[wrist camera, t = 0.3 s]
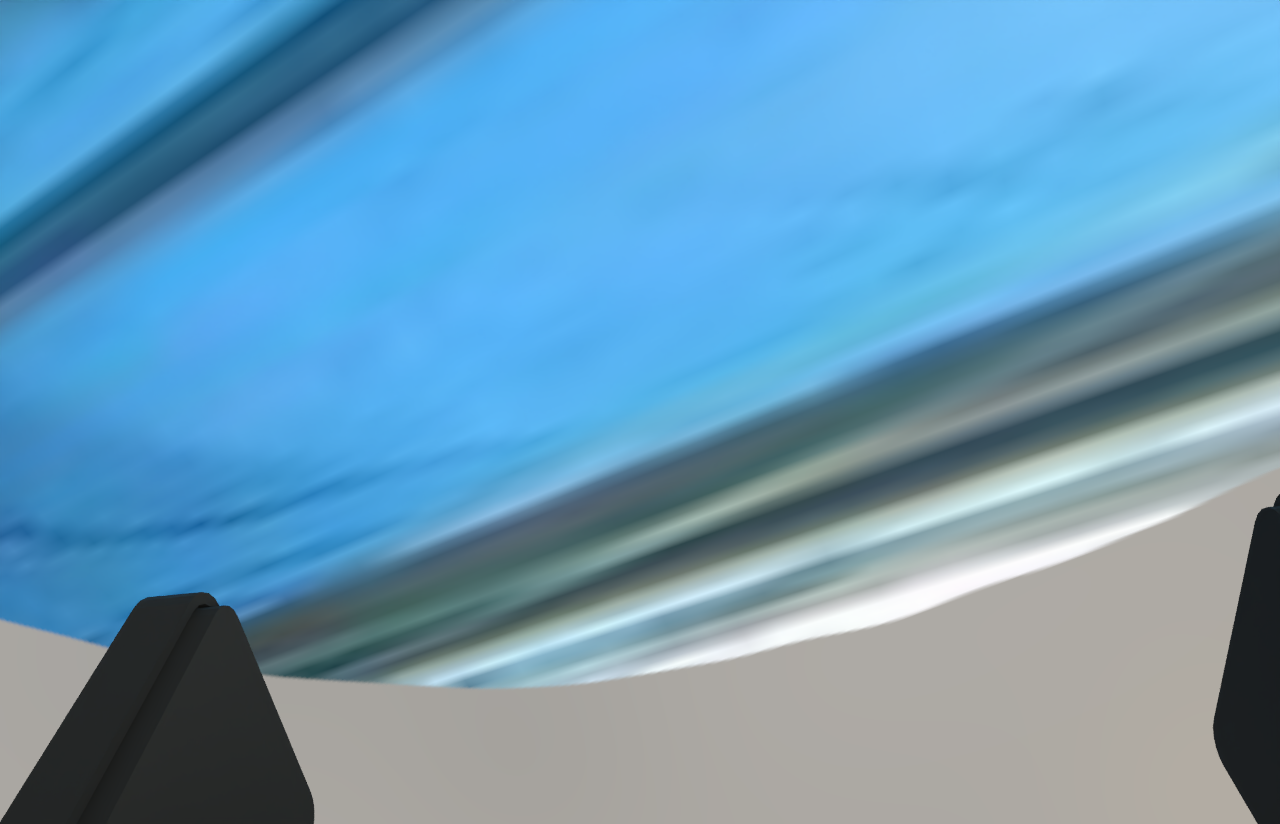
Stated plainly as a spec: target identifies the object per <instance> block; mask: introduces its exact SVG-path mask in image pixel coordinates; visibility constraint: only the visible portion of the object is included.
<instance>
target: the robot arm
mask: <svg viewBox="0 0 1280 824" xmlns="http://www.w3.org/2000/svg"><path fill="white" fill-rule="evenodd" d="M1213 731H1214V740H1215V744H1216V748H1217V751H1218V754H1219V757H1220V759H1221V761H1222V763H1223V765H1224V767H1225V769H1226V770H1227V772H1228V774H1229V776H1230V777H1231V779H1232V781H1233V782H1234V784H1235V786H1236V787H1237V789H1238V791H1239V793H1240V794H1241V796H1242V798H1243V800H1244V801H1245V803H1246V805H1247V806H1248V808H1249V810H1250V811H1251V813H1252V815H1253V816H1254V818H1255V820H1256V822H1257V823H1258V824H1280V494H1279V496H1278V497H1277V498H1276V501H1275V503H1274V506H1273V507H1267V508H1264V509H1262V510H1261V511H1260V512H1259V513H1258V515H1257V518H1256V521H1255V525H1254V530H1253V534H1252V539H1251V544H1250V549H1249V554H1248V558H1247V563H1246V568H1245V573H1244V577H1243V582H1242V587H1241V592H1240V597H1239V601H1238V606H1237V611H1236V616H1235V621H1234V625H1233V630H1232V635H1231V640H1230V645H1229V650H1228V654H1227V659H1226V664H1225V668H1224V673H1223V678H1222V683H1221V688H1220V692H1219V697H1218V702H1217V707H1216V712H1215V716H1214V724H1213ZM0 824H314V804H313V798H312V795H311V792H310V789H309V787H308V785H307V782H306V780H305V777H304V775H303V773H302V770H301V768H300V765H299V763H298V760H297V758H296V756H295V753H294V751H293V748H292V746H291V744H290V741H289V739H288V736H287V734H286V732H285V729H284V727H283V724H282V722H281V720H280V718H279V715H278V712H277V710H276V708H275V705H274V703H273V701H272V698H271V696H270V693H269V691H268V688H267V686H266V684H265V681H264V679H263V676H262V674H261V672H260V669H259V667H258V664H257V662H256V660H255V657H254V655H253V652H252V650H251V648H250V645H249V643H248V640H247V638H246V635H245V633H244V631H243V628H242V626H241V623H240V621H239V619H238V616H237V615H236V613H235V611H234V610H233V609H232V608H231V607H230V606H219V604H218V603H217V601H216V599H215V598H214V597H213V596H211V595H210V594H209V593H204V592H199V593H189V594H178V595H168V596H157V597H147V598H145V599H143V600H141V601H140V602H139V603H138V604H137V605H136V606H135V607H134V609H133V610H132V612H131V613H130V615H129V617H128V618H127V620H126V621H125V623H124V625H123V626H122V628H121V629H120V631H119V633H118V634H117V636H116V637H115V639H114V641H113V642H112V644H111V645H110V647H109V649H108V650H107V652H106V653H105V655H104V657H103V658H102V660H101V662H100V663H99V665H98V666H97V668H96V669H95V671H94V673H93V674H92V676H91V678H90V679H89V681H88V682H87V684H86V685H85V687H84V689H83V690H82V692H81V694H80V695H79V697H78V698H77V700H76V702H75V703H74V705H73V706H72V708H71V709H70V711H69V713H68V714H67V716H66V717H65V719H64V721H63V722H62V724H61V725H60V727H59V729H58V730H57V732H56V734H55V735H54V737H53V738H52V740H51V741H50V743H49V745H48V746H47V748H46V750H45V751H44V753H43V754H42V756H41V758H40V759H39V761H38V762H37V764H36V766H35V767H34V769H33V771H32V772H31V774H30V775H29V777H28V778H27V780H26V782H25V783H24V785H23V786H22V788H21V790H20V791H19V793H18V794H17V796H16V798H15V799H14V801H13V802H12V804H11V806H10V807H9V809H8V811H7V812H6V814H5V815H4V817H3V818H2V820H1V822H0Z"/></svg>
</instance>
